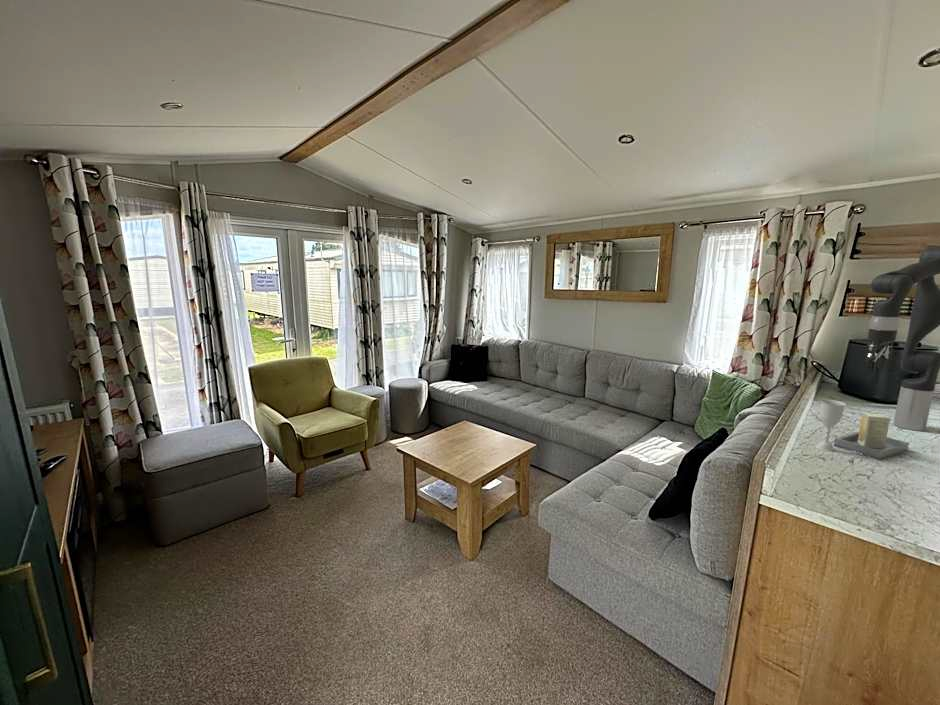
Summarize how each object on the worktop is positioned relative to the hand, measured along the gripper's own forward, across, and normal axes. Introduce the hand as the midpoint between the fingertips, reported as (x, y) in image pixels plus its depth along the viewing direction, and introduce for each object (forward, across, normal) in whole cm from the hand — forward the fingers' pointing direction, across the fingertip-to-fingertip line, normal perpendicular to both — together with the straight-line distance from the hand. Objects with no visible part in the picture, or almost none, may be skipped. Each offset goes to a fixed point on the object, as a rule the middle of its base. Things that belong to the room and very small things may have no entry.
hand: (875, 369), depth 150 cm
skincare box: (+27, +13, +7) cm, 30 cm away
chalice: (+27, +29, 0) cm, 39 cm away
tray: (+27, +13, +7) cm, 31 cm away
